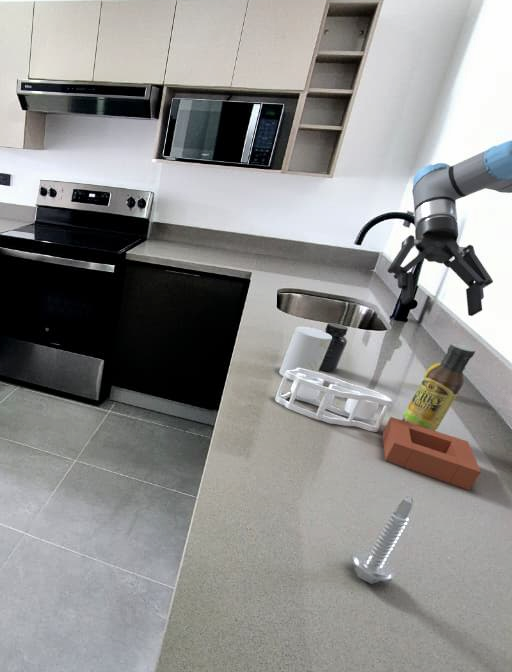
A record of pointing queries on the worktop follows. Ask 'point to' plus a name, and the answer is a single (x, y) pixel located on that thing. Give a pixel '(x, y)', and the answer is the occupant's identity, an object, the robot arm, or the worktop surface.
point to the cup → (306, 350)
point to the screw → (382, 547)
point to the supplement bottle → (334, 346)
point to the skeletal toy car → (357, 406)
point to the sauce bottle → (439, 389)
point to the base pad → (430, 453)
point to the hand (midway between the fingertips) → (441, 307)
